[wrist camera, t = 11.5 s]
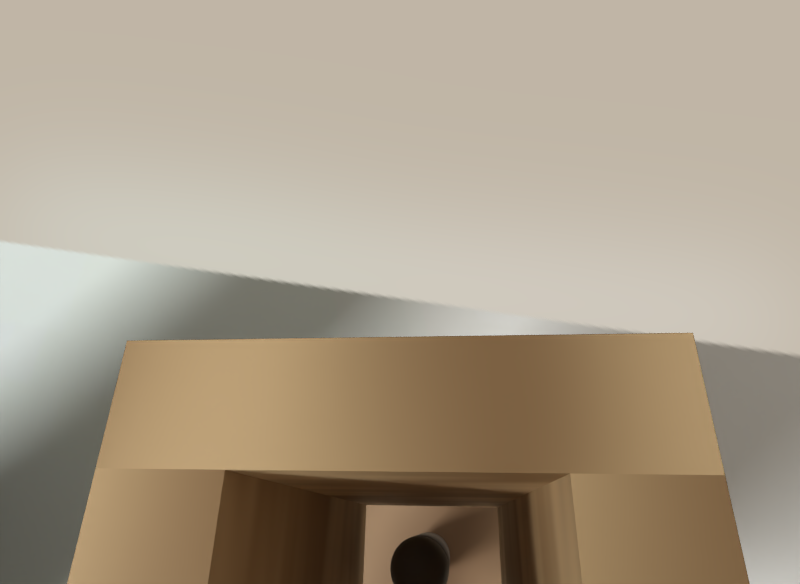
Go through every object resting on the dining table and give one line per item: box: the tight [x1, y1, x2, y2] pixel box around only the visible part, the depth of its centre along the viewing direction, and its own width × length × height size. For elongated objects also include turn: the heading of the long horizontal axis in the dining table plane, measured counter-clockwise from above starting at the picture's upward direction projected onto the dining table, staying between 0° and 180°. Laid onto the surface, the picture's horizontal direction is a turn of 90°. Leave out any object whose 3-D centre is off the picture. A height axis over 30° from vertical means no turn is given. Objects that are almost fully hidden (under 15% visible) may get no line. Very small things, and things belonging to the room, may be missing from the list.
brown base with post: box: [363, 505, 501, 584], centre depth 20 cm, size 16×14×10 cm
